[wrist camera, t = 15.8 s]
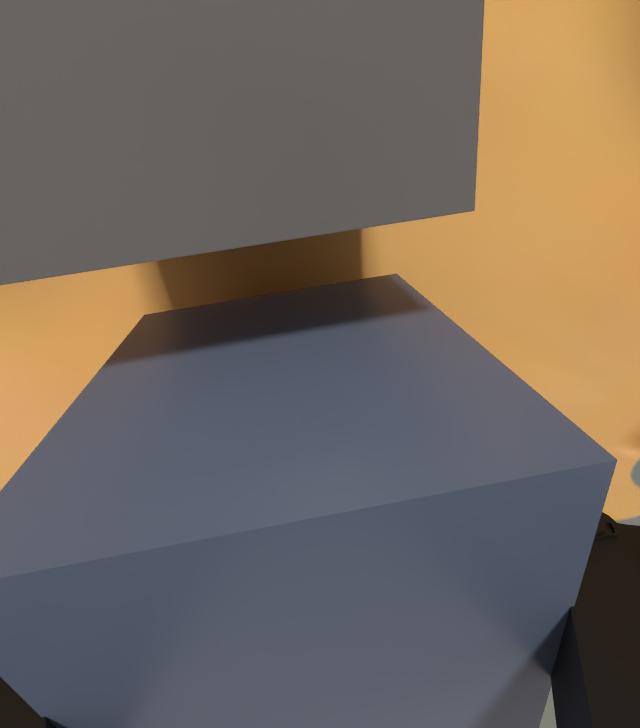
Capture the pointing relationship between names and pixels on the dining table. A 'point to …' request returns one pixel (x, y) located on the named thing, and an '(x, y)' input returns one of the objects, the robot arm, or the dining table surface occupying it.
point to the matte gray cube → (227, 124)
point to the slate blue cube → (298, 525)
